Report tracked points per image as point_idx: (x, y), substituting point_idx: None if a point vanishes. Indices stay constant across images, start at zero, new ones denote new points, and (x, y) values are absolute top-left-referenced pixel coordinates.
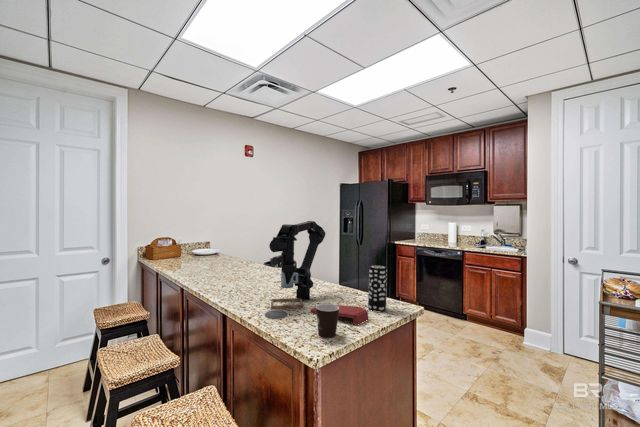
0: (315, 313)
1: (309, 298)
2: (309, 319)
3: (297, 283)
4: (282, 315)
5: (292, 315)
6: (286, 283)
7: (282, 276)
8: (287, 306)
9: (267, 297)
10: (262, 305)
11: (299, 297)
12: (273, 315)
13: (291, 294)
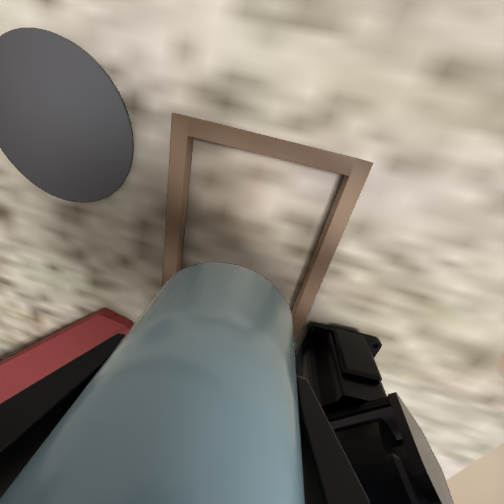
0: (83, 318)
1: (296, 372)
2: (14, 272)
3: (352, 424)
4: (36, 160)
5: (59, 218)
6: (110, 337)
7: (93, 406)
8: (166, 230)
9: (494, 151)
10: (285, 55)
11: (323, 340)
12: (30, 99)
13: (447, 328)
